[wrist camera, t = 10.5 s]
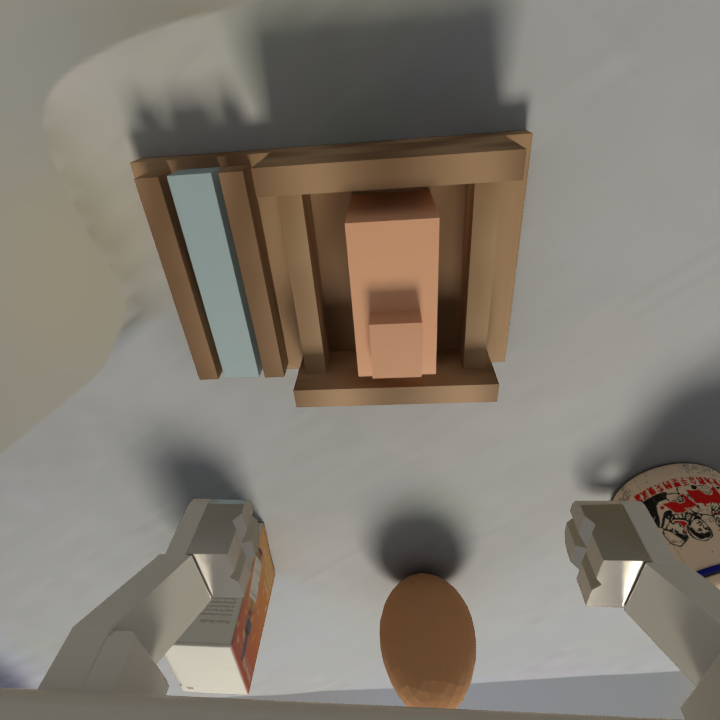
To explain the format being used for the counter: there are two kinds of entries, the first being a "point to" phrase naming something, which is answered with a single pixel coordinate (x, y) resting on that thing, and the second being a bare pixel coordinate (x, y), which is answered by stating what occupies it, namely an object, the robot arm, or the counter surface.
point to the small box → (226, 635)
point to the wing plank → (216, 268)
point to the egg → (428, 642)
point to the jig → (330, 259)
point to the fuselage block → (394, 282)
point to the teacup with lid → (683, 512)
